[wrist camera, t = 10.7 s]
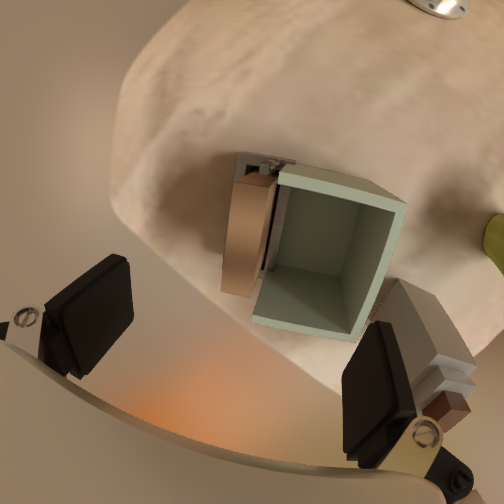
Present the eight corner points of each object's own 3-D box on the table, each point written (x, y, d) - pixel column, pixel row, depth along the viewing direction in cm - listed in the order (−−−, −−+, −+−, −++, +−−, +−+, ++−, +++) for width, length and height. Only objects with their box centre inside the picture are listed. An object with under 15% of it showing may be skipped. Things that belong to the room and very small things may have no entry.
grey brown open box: (244, 150, 27) (209, 154, 17) (296, 159, 26) (292, 167, 16) (229, 258, 32) (195, 310, 22) (274, 268, 32) (259, 326, 22)
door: (249, 168, 28) (222, 180, 19) (280, 173, 27) (268, 188, 18) (238, 245, 31) (210, 288, 22) (266, 251, 31) (250, 298, 22)
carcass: (288, 161, 27) (279, 171, 17) (371, 181, 26) (408, 204, 16) (268, 265, 32) (251, 322, 22) (342, 281, 31) (355, 343, 21)
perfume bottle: (370, 320, 32) (397, 440, 16) (398, 278, 29) (454, 393, 13) (407, 334, 32) (443, 442, 15) (435, 295, 29) (493, 399, 13)
